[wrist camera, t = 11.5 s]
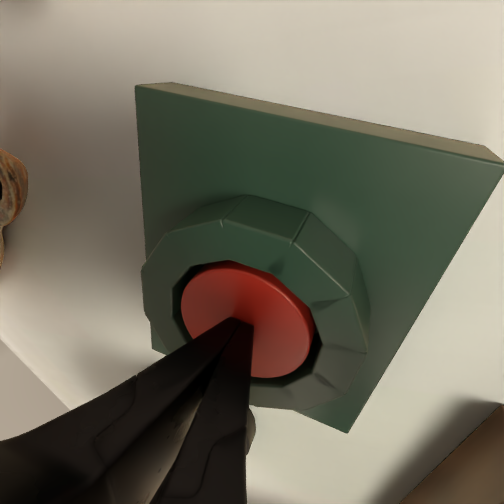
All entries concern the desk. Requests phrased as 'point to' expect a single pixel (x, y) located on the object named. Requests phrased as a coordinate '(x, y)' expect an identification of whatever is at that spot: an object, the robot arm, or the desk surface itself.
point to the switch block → (304, 226)
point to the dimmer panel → (468, 470)
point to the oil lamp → (11, 191)
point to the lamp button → (251, 313)
